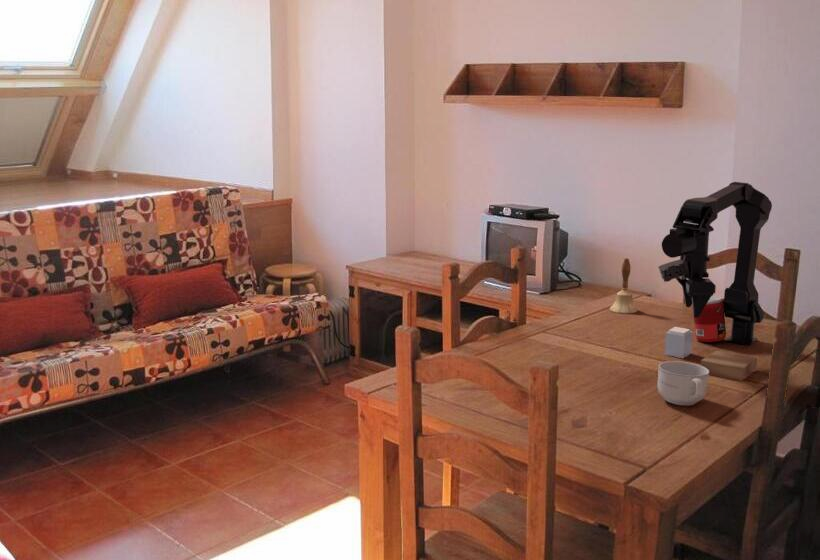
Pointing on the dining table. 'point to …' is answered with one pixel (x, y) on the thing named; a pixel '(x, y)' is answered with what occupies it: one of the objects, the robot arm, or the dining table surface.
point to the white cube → (678, 342)
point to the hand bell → (624, 293)
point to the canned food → (711, 321)
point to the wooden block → (729, 365)
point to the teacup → (682, 382)
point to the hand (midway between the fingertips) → (692, 312)
